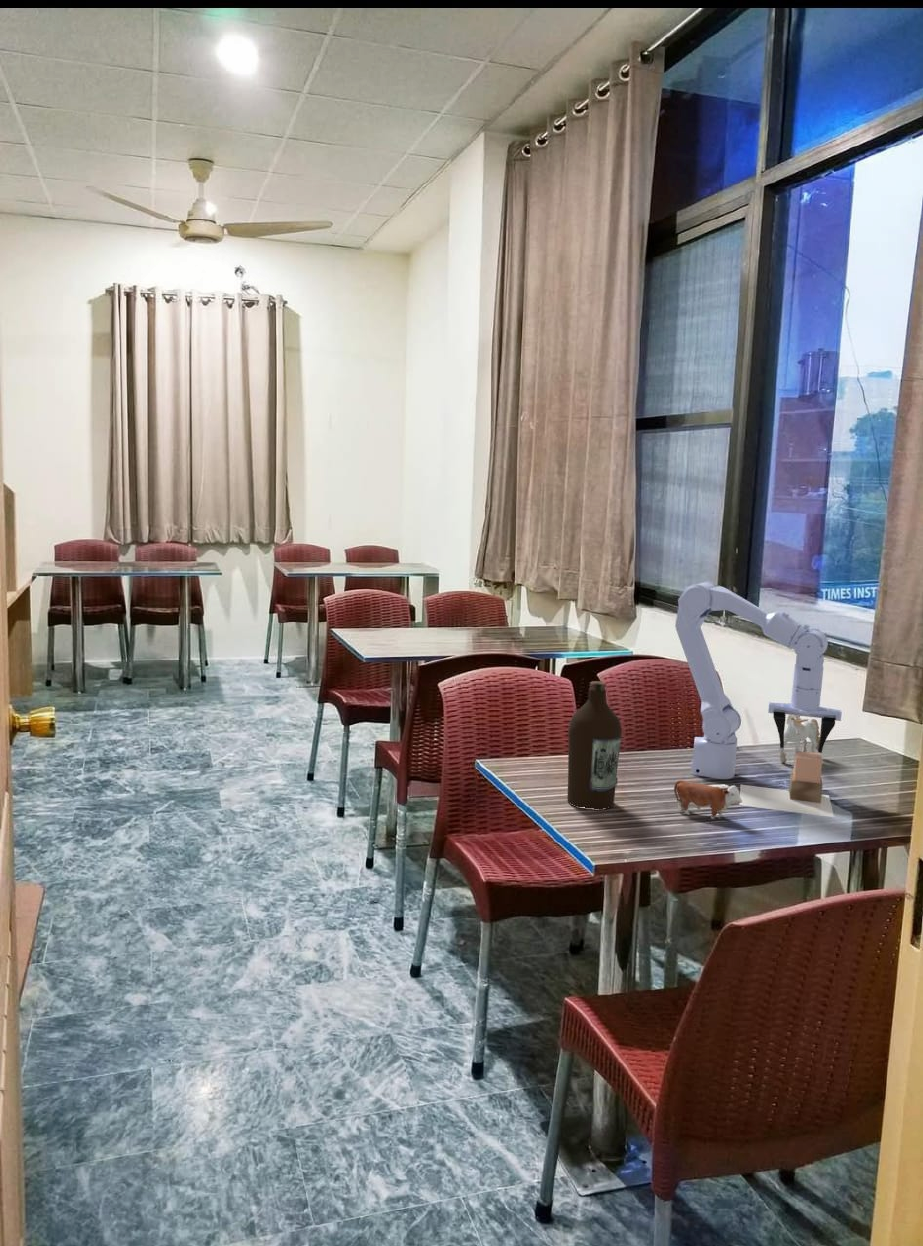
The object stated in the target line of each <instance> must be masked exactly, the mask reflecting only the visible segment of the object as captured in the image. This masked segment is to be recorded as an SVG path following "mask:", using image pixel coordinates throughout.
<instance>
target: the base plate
mask: <svg viewBox="0 0 923 1246" xmlns="http://www.w3.org/2000/svg"><path fill="white" fill-rule="evenodd" d="M739 792H740V798H741V799H742V802H741V803H739V804H738V806H743V807H744V806H745V807H750V808H756V809H757V808H759V809H767V810H774V811H780V812H788V813H789V812H790V813H796V814H805V815H811V816H817V817H818V816H820V817H826V818H827V817H828V818H835V816H834V811H833V807H832V803H831V798H830V795H827V794H822V795H821V803H815V802H807V801H799V800H792V799H790V795H789V789H788V790H787V789H780V788H773V787H772V788H771V787H763V786H762V787H761V786H756V785H755V786H754V785H749V784H748V785H745V784H740V786H739Z"/></svg>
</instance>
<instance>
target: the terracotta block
mask: <svg viewBox="0 0 923 1246" xmlns="http://www.w3.org/2000/svg"><path fill="white" fill-rule="evenodd" d="M794 752H795V753H794V762H793V763H794V764H793V771H792V773H793V775H794V781H802V782H811V783H819V784H820V779H821V780H822V768H823V767H822V766H823V758H822V753H819V752H815V753H810V751H809V752H808V751H807V752H802V750H801V751H796V750H795V751H794Z"/></svg>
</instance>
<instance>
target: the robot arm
mask: <svg viewBox="0 0 923 1246" xmlns="http://www.w3.org/2000/svg"><path fill="white" fill-rule="evenodd" d="M677 602H678V603H677V604H678V607H677V613H676V620H675V630H676V633H677V636H678V639H679V641H680V644H681V647H682V650H683V653H684V655H685V658H686V660H687V664H688V667H689V671H690V673H691V675H692V678H693V681H694V684H695V686H696V689H697V692H698V695H699V699H700V700H701V705H700V714H701V716H702V724H701V727H702V728H701V730H702V732H703V736H702V737H701V736H695V737H694V740H693V741H694V743H693V753H692V760H691V763H690V769H691V775H693V776H699V777H700V776H701V777H706V778H712V779H718V780H728V779H733V778H735V772H736V771H735V770H736V759H737V747H738V737H737V735H736V732H737V731H739V729H740V727H741V725H742V718H741V715H740V713H739V712H738V710H737V709H736V708H734V706H733V705H732V702H731V699H730V698H729V697H728V696H727V695H726V694H725V692H724V690H723V686H722V683H721V681H720V677H719V675H718V672H717V670H716V667H715V664H714V662H713V659H712V656H711V653H710V651H709V648H708V645H707V642H706V638H705V637H704V634H703V630H702V625H703V623H704V622H705V621H706V618H707V617H708V615H709V614H710V613H711V612H712V611H713V612H714V611H715V612H716V611H717V612H718V611H728V612H731V613H732V614H735V615H737V616H739V617H741V618H743V619H744V620H747V621H749V622H751V623H754V624H756V625H758V626H759V627H760V628H761V630H762V633H763V635H764V636H766V637H768V638H770V639H771V640H772V641H775V642H777V643H779V644H781V645H783V646H784V647H786V648H788V649H789V650H792V649H793V650H794V653H795V655H796V656H795V657H796V658H795V664H794V670H793V671H794V672H793V678H792V679H793V680H792V688H791V689H792V690H791V699H790V703H789V702H788V703H785V702H784V703H783V702H768V710H767V711H768V714H773V716H772V717H773V720H774V723H775V725H776V729H777V733H778V737H779V747H780V748H784V749H785V746H784V731H785V729H786V728H785V727H786V721H787V719H786V717H787V716H786V715H798V716H800V717H809V718H816V719H820V722H821V723H820V731H819V733H820V735H819V737H820V738H819V743H818V750H817V753H819V754H822V753H823V749H824V746H825V743H826V740H827V739H828V736H829V735H830V734H831V732H832V730H833V729H834V727H835V725H836V721H839V722H840V721H842V709H835V708H830V707H823V706H820V705H821V693H822V686H823V676H824V663H825V659H824V657H825V656H824V653H825V652H826V651H827V649H828V645H829V643H828V642H829V641H828V638H827V636H826V635H825V633H823V632H822V631H821V630H820V629H819V628H810V627H811V625H809V624H807V623H805V624H803V623H801V622H799V621H797V620H795V619H793V618H792V617H790V613H788V612H786V611H782V612H780V611H774V612H771V613H769V612H767V611H766V610H764V609H762V608H761V607H758V606H757V605H755V604H754V603H752V602H750V601H748V600H747V599H745V598H743V597H742V596H741V595H739V594H736V593H735V592H734V591H731V590H730V589H728V588H726V587H724V586H721V585H717V584H716V583H714V582H712V581H707V580H706V581H702V582H700V583H698V584H697V583H696V584H695V583H694V584H690V585H689V586H687V587H685V589H684V590H683V592H682V594H681V595H680V596H679V598H678V599H677ZM697 770H699V771H697Z"/></svg>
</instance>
